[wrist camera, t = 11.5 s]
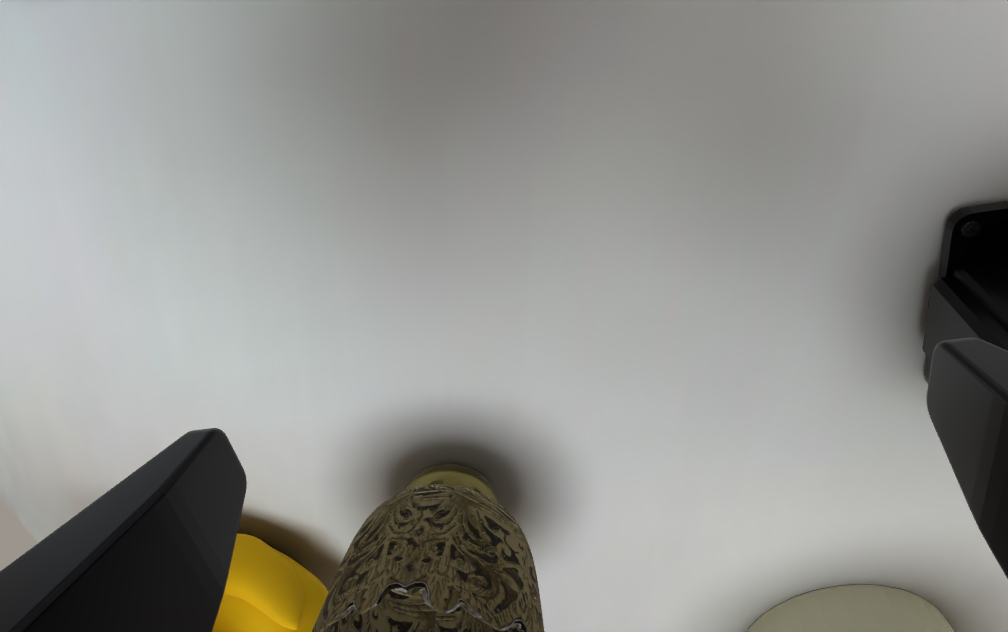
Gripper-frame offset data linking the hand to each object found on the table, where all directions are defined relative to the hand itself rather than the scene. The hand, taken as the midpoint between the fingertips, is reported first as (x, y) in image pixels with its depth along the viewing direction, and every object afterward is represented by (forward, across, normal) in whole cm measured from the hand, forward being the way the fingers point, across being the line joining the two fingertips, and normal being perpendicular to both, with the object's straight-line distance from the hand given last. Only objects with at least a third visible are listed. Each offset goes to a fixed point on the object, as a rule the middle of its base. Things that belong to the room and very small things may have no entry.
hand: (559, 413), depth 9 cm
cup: (+13, +6, +14) cm, 20 cm away
